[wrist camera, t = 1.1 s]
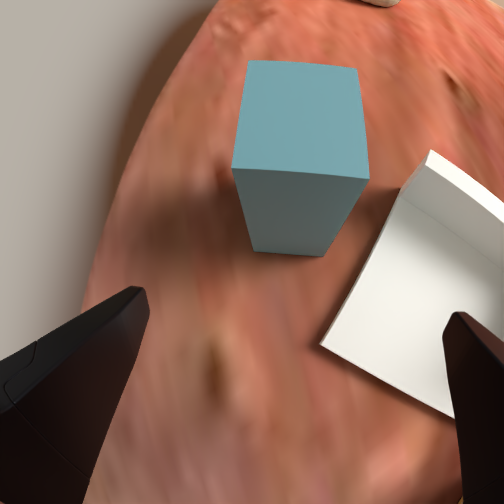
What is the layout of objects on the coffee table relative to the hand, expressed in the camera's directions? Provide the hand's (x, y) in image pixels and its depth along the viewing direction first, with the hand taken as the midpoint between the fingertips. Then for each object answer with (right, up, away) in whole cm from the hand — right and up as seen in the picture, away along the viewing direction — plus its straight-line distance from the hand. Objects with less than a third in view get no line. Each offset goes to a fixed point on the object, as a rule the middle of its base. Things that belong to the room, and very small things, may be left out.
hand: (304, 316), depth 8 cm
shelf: (+14, -3, +12) cm, 19 cm away
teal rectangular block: (+1, +5, +15) cm, 16 cm away
